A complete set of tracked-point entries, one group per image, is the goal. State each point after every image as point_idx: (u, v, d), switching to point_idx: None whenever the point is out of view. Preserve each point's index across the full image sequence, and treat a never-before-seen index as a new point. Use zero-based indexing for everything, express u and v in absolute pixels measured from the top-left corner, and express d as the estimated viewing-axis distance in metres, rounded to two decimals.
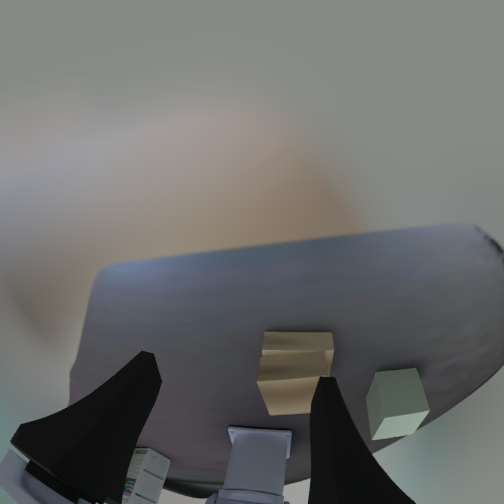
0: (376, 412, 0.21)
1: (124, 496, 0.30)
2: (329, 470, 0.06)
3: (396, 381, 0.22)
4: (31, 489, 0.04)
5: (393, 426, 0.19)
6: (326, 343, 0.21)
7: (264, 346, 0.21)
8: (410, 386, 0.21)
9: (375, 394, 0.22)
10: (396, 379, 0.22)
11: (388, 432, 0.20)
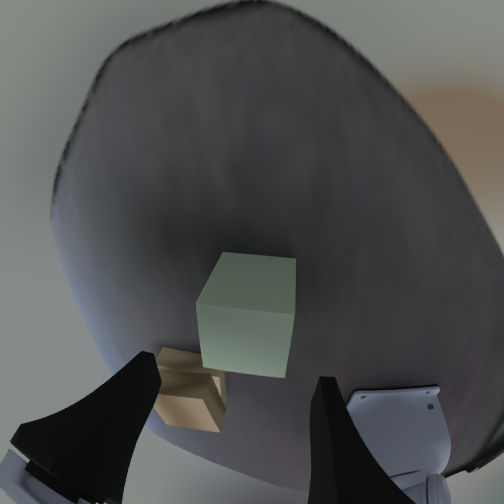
0: None
1: None
2: (329, 470, 0.06)
3: None
4: (31, 489, 0.04)
5: (238, 354, 0.14)
6: None
7: None
8: None
9: None
10: None
11: (259, 360, 0.14)
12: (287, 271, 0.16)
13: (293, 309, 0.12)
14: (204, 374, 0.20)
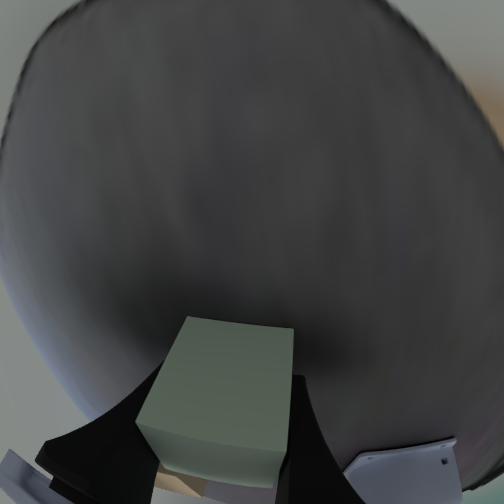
0: None
1: None
2: (287, 469, 0.06)
3: None
4: (31, 489, 0.04)
5: (207, 469, 0.08)
6: None
7: None
8: None
9: None
10: None
11: (236, 476, 0.08)
12: (279, 358, 0.10)
13: (284, 440, 0.07)
14: None
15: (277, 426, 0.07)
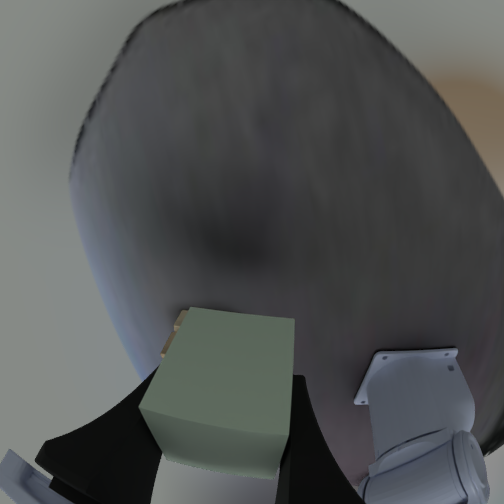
0: None
1: None
2: (287, 469, 0.06)
3: None
4: (31, 489, 0.04)
5: (209, 459, 0.08)
6: None
7: None
8: None
9: None
10: None
11: (238, 465, 0.08)
12: (281, 346, 0.10)
13: (287, 425, 0.07)
14: None
15: (279, 410, 0.07)
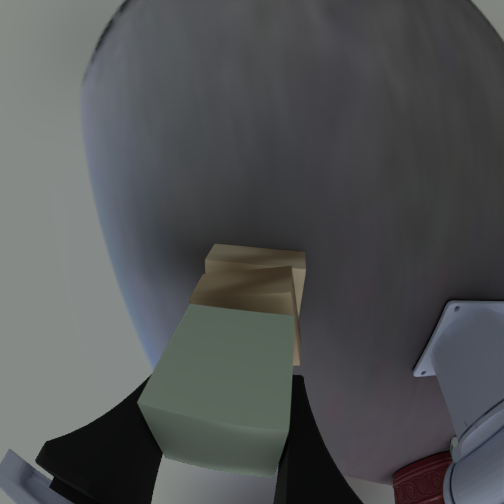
0: None
1: None
2: (285, 469, 0.06)
3: None
4: (31, 489, 0.04)
5: (208, 456, 0.08)
6: None
7: None
8: None
9: None
10: None
11: (237, 463, 0.08)
12: (280, 342, 0.10)
13: (287, 420, 0.07)
14: (282, 267, 0.15)
15: (279, 406, 0.07)
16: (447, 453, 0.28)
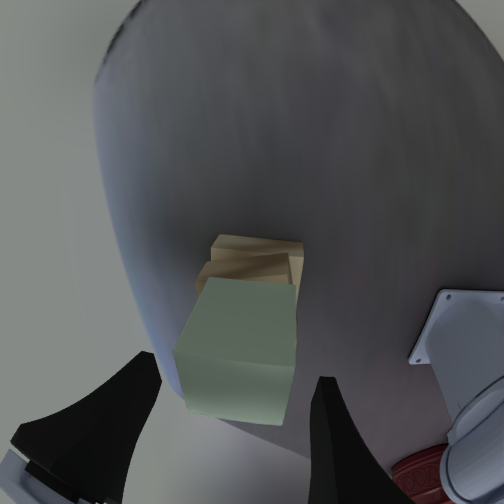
0: None
1: None
2: (329, 470, 0.06)
3: None
4: (31, 489, 0.04)
5: (227, 403, 0.11)
6: None
7: None
8: None
9: None
10: None
11: (252, 409, 0.11)
12: (285, 304, 0.13)
13: (293, 359, 0.10)
14: (280, 254, 0.16)
15: (287, 349, 0.10)
16: (445, 446, 0.29)
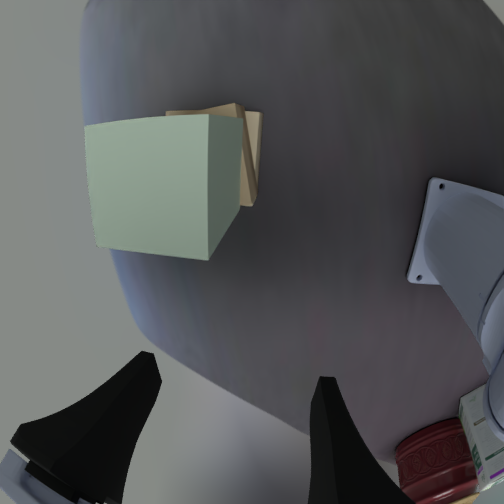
0: None
1: (481, 474, 0.15)
2: (329, 470, 0.06)
3: None
4: (31, 489, 0.04)
5: (135, 211, 0.09)
6: None
7: None
8: None
9: None
10: None
11: (164, 219, 0.09)
12: None
13: None
14: None
15: None
16: (456, 420, 0.27)
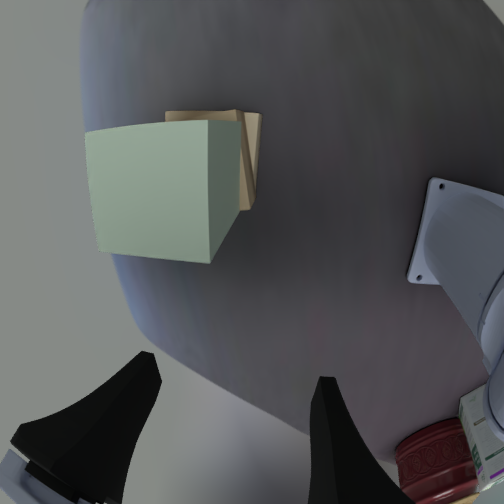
0: None
1: (481, 474, 0.15)
2: (329, 470, 0.06)
3: None
4: (31, 489, 0.04)
5: (137, 216, 0.09)
6: None
7: None
8: None
9: None
10: None
11: (166, 223, 0.09)
12: None
13: (209, 120, 0.08)
14: None
15: None
16: (456, 420, 0.27)
